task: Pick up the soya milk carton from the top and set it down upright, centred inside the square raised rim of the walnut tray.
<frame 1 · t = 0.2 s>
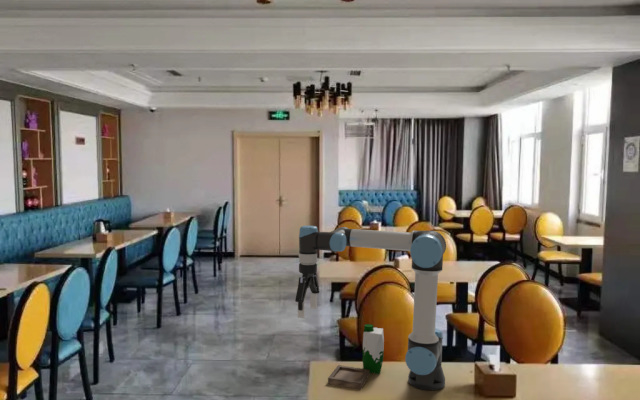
hand: (307, 312, 222), 28 cm above the table, tool pointing down, fingers open, 13 cm apart
soya milk: (372, 370, 232), on the table
walnut tray: (349, 379, 223), on the table
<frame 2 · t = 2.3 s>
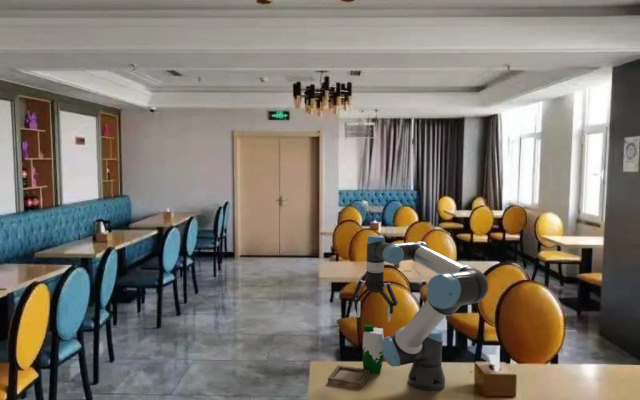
hand: (373, 318, 230), 23 cm above the table, tool pointing down, fingers open, 13 cm apart
nothing on the table moved.
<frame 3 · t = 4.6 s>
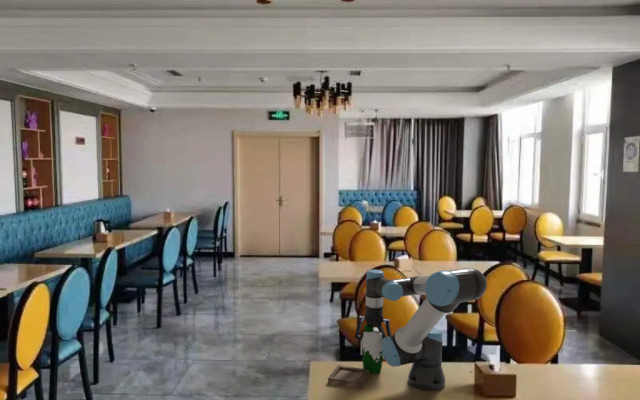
hand: (373, 355, 232), 7 cm above the table, tool pointing down, fingers closed on soya milk, 9 cm apart
soya milk: (372, 370, 232), on the table, touching gripper
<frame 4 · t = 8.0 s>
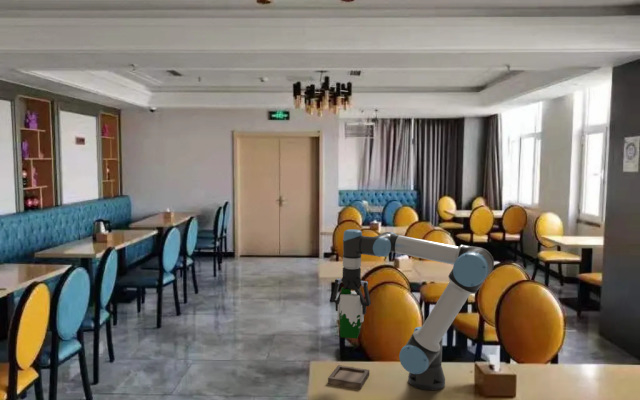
hand: (350, 320, 220), 26 cm above the table, tool pointing down, fingers closed on soya milk, 9 cm apart
soya milk: (350, 335, 221), point 19 cm above the table, touching gripper
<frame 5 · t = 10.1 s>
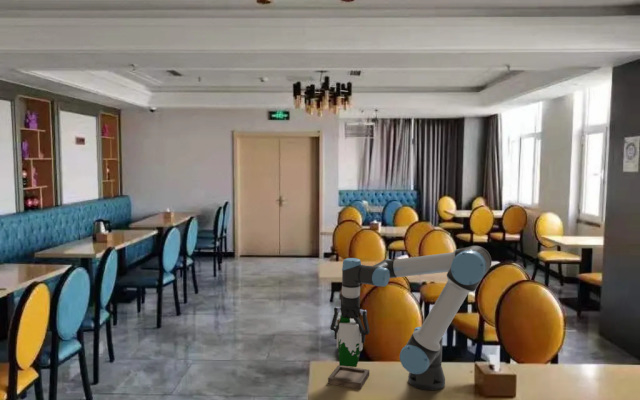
hand: (349, 348, 221), 14 cm above the table, tool pointing down, fingers closed on soya milk, 9 cm apart
soya milk: (349, 363, 222), point 7 cm above the table, touching gripper
when the fingers open (10 cm above the table, at t = 11.7 s): soya milk drops 2 cm, resting on walnut tray.
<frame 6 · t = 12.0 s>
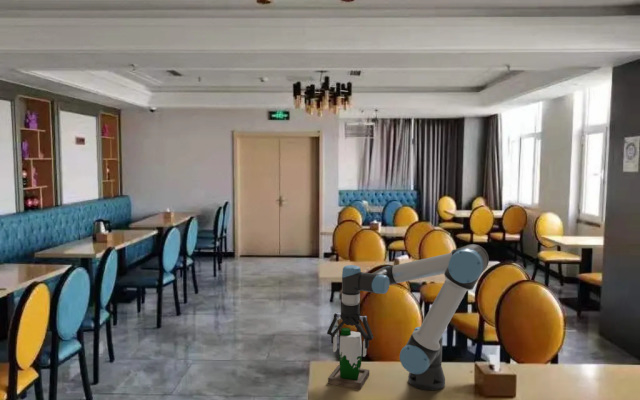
hand: (349, 353, 221), 11 cm above the table, tool pointing down, fingers open, 12 cm apart
soya milk: (350, 376, 222), point 1 cm above the table, touching walnut tray
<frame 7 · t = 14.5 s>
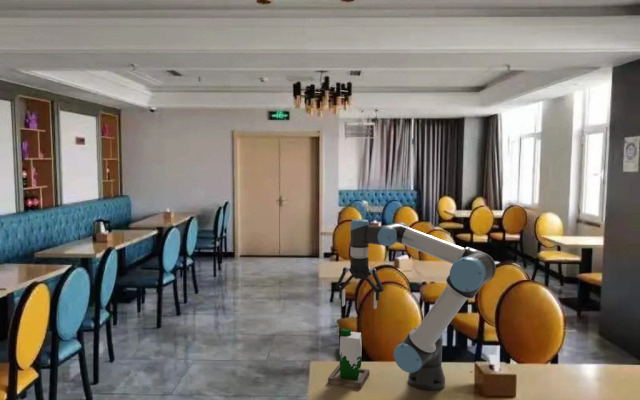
hand: (359, 306, 222), 31 cm above the table, tool pointing down, fingers open, 13 cm apart
nothing on the table moved.
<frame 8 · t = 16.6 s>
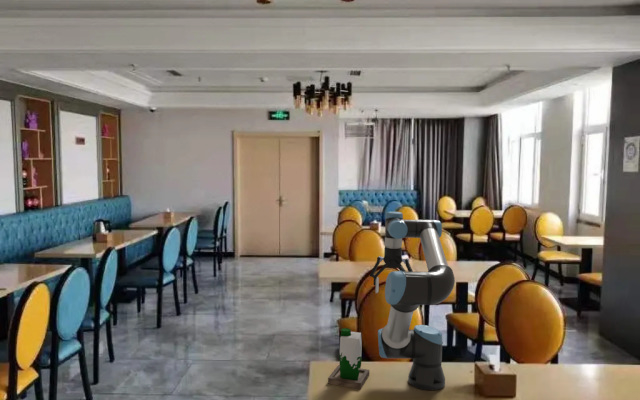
hand: (391, 294, 235), 33 cm above the table, tool pointing down, fingers open, 13 cm apart
nothing on the table moved.
at the end: soya milk 0.5 cm off-centre on the walnut tray, point 1.3 cm above the walnut tray's base; soya milk tilted 0°; the gripper is holding nothing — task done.
